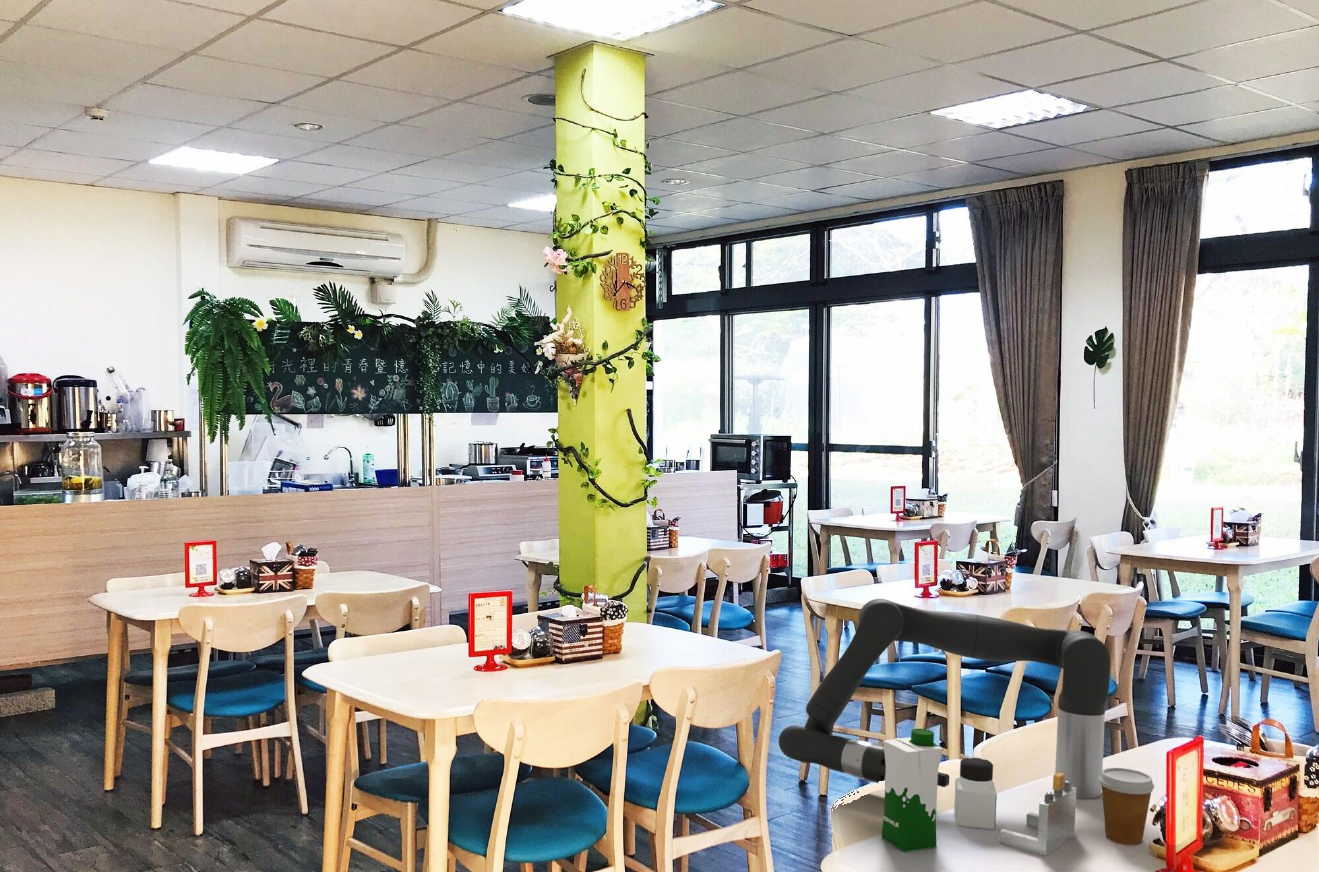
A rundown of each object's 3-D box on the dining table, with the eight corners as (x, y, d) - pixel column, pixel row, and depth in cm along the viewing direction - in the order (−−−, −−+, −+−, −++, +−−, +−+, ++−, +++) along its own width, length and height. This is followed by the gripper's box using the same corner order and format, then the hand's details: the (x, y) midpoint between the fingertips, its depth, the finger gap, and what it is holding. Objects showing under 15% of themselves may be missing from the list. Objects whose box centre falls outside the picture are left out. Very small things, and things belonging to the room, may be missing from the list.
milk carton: (944, 848, 201) (948, 737, 200) (901, 854, 197) (906, 741, 197) (914, 831, 209) (918, 724, 208) (873, 836, 205) (877, 727, 205)
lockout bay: (1029, 823, 215) (1032, 757, 215) (1074, 835, 210) (1077, 767, 209) (999, 842, 204) (1002, 773, 204) (1045, 856, 199) (1048, 784, 199)
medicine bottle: (995, 830, 211) (998, 767, 211) (956, 826, 212) (958, 763, 212) (991, 817, 218) (994, 756, 218) (953, 813, 219) (956, 752, 219)
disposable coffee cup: (1127, 852, 202) (1130, 786, 202) (1085, 833, 211) (1088, 770, 211) (1163, 844, 207) (1166, 779, 206) (1120, 826, 215) (1123, 764, 215)
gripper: (853, 749, 225) (933, 769, 213) (885, 736, 235) (963, 754, 224) (851, 787, 225) (931, 808, 214) (884, 772, 235) (961, 792, 224)
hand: (947, 781), depth 219 cm, fingers closed
